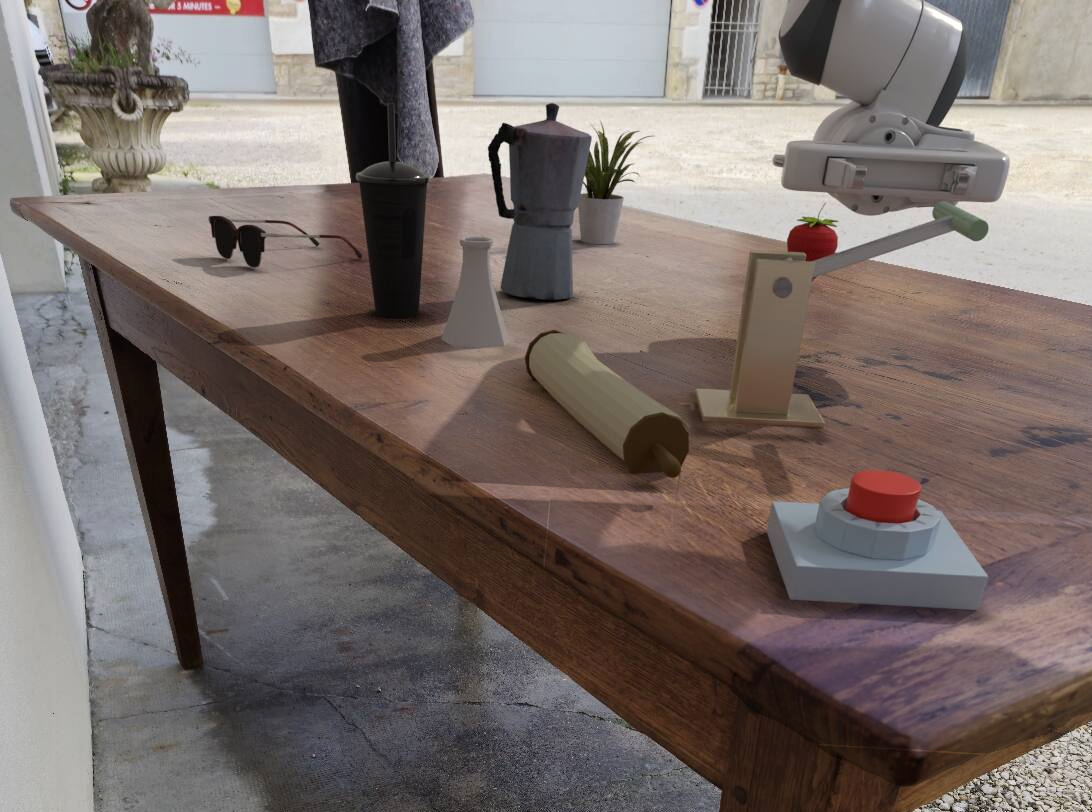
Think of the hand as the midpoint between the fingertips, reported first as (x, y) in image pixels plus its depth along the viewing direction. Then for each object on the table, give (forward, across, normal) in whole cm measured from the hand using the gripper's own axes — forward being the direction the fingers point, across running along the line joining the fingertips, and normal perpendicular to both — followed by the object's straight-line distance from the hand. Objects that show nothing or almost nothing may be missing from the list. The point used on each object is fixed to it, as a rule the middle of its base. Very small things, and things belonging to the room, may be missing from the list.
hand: (911, 181), depth 91 cm
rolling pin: (+19, -26, +17) cm, 37 cm away
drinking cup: (-18, -48, +18) cm, 55 cm away
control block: (+44, -10, +17) cm, 48 cm away
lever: (+14, -6, +5) cm, 16 cm away
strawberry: (-45, +2, +18) cm, 49 cm away
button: (+44, -10, +13) cm, 47 cm away
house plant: (-74, -24, +18) cm, 79 cm away
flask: (-6, -38, +18) cm, 43 cm away
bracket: (+14, -12, +17) cm, 25 cm away
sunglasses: (-48, -67, +18) cm, 84 cm away
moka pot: (-32, -33, +18) cm, 49 cm away
